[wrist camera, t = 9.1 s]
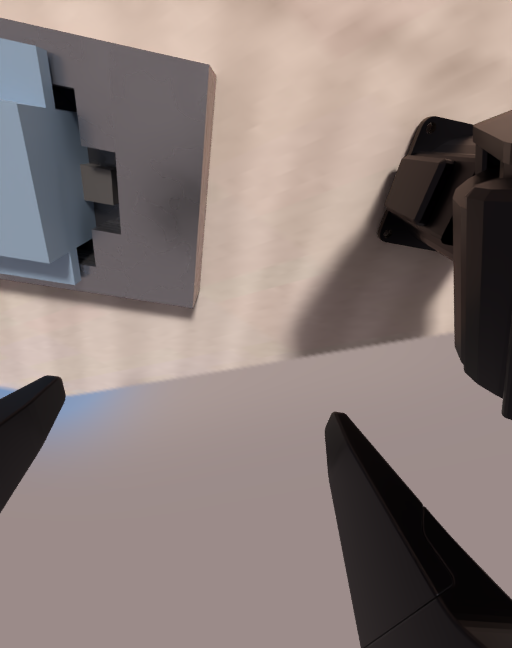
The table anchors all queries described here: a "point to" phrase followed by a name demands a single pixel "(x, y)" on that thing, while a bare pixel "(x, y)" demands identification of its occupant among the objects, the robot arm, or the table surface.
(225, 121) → the table surface
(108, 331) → the table surface
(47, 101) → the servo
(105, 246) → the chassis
